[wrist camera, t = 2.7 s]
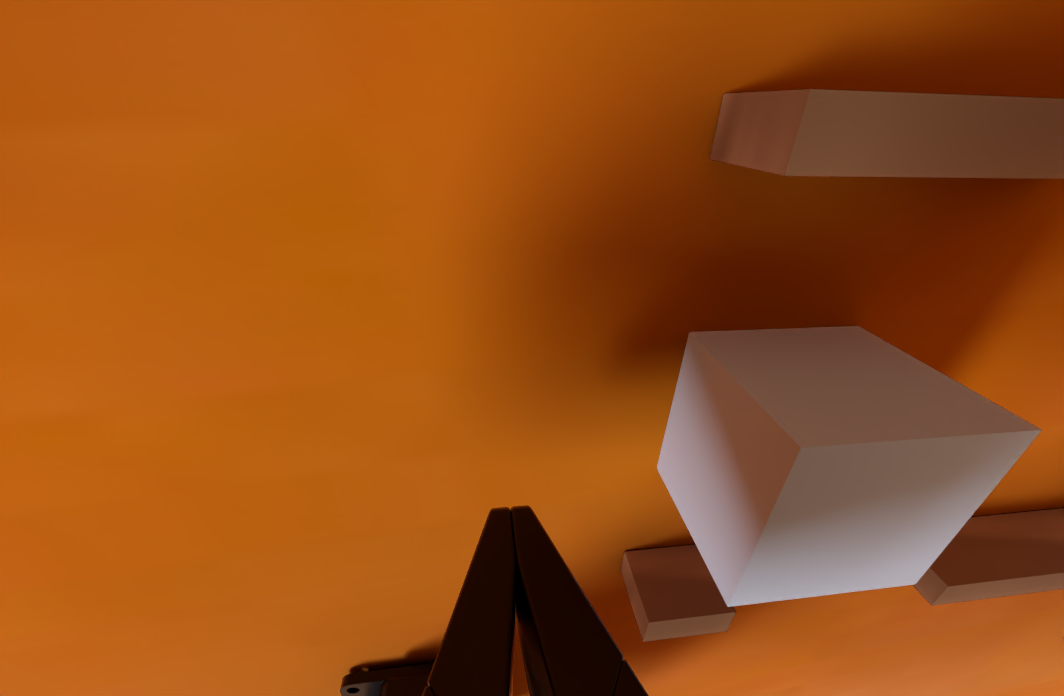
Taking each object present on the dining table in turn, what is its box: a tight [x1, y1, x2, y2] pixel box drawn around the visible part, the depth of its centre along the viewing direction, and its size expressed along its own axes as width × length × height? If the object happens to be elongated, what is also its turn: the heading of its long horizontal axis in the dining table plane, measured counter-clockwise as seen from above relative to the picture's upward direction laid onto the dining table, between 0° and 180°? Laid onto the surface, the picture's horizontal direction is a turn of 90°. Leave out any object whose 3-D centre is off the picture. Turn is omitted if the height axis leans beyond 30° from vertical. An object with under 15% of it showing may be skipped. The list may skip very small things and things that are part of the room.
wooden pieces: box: [621, 89, 1064, 642], centre depth 12 cm, size 16×22×2 cm
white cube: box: [657, 326, 1041, 607], centre depth 11 cm, size 5×5×4 cm
